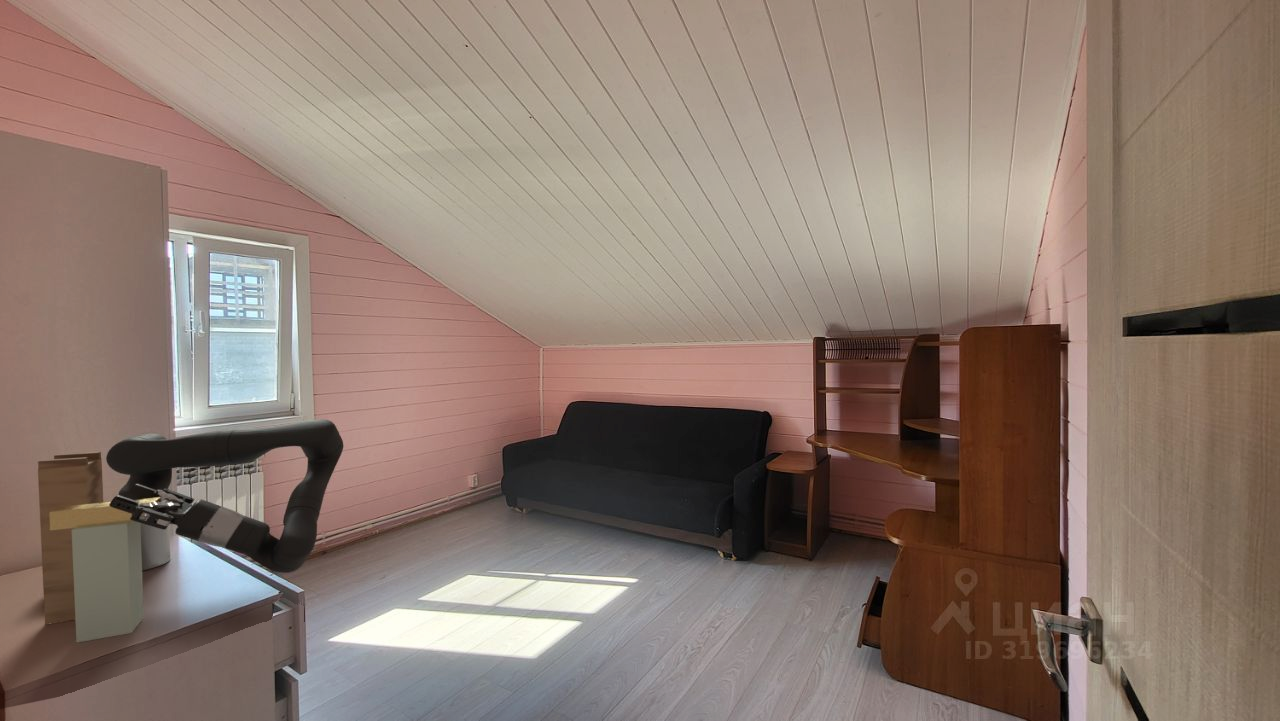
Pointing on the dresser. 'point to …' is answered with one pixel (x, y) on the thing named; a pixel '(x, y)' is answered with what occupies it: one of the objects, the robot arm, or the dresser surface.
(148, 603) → the dresser surface
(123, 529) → the block
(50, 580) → the stand
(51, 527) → the rail
